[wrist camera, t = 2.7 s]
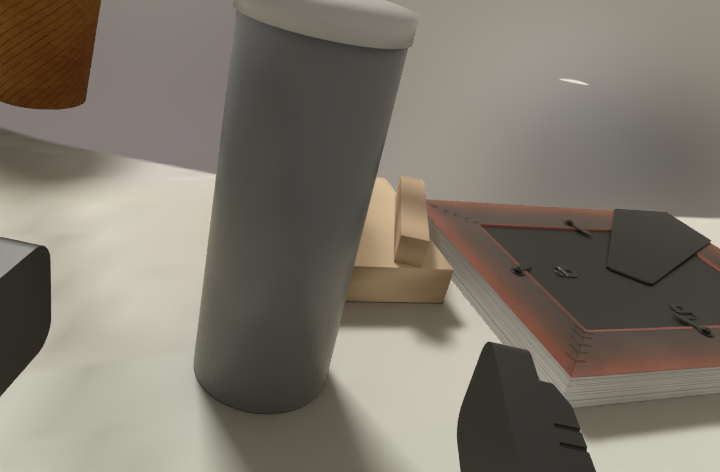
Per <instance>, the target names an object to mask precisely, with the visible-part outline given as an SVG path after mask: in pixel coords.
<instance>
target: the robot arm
mask: <svg viewBox="0 0 720 472" xmlns="http://www.w3.org/2000/svg"><path fill="white" fill-rule="evenodd" d="M50 324H51V269H50V254H49V251H48V249H47V248H46V247H45V246H41V245H37V244H32V243H27V242H22V241H18V240H13V239H8V238H4V237H0V396H1V395H2V394H3V393H4V392H5V391H6V389H7V388H8V387H9V386H10V385H11V384H12V383H13V381H14V380H15V379H16V378H17V377H18V376H19V375H20V373H21V372H22V371H23V370H24V369H25V368H26V367H27V365H28V364H29V363H30V362H31V361H32V360H33V359H34V357H35V356H36V355H37V354H38V353H39V351H40V350H41V348H42V347H43V345H44V343H45V341H46V338H47V336H48V333H49V329H50ZM579 430H580V427H579V424H578V422H577V419H576V416H575V414H574V411H573V408H572V405H571V404H570V403H569V402H568V401H567V399H566V398H565V397H564V396H563V395H562V393H561V392H560V391H559V390H558V389H557V388H556V386H555V385H554V384H553V383H549V382H544V381H540V380H539V377H538V374H537V371H536V368H535V365H534V362H533V358H532V355H531V353H530V351H528V350H526V349H521V348H516V347H512V346H507V345H502V344H497V343H493V342H487V343H486V344H485V346H484V347H483V349H482V352H481V354H480V357H479V360H478V362H477V365H476V368H475V370H474V373H473V376H472V378H471V381H470V384H469V387H468V389H467V392H466V395H465V397H464V400H463V403H462V406H461V409H460V413H459V418H458V425H457V444H458V452H459V461H460V470H461V472H596V470H595V468H594V465H593V462H592V460H591V457H590V454H589V453H588V452H587V451H586V450H587V446H586V443H585V441H584V438H583V435H582V433H580V432H579Z"/></svg>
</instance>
